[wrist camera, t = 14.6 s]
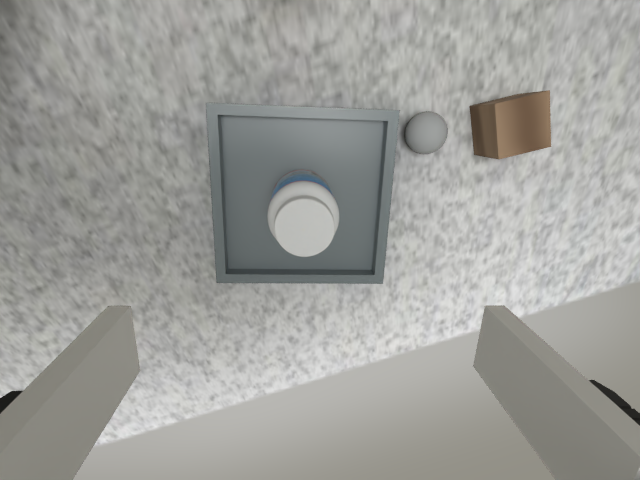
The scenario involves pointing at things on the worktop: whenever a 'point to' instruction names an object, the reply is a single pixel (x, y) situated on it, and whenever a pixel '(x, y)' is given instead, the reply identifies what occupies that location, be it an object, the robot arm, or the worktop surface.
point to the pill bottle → (303, 213)
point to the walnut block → (511, 125)
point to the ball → (426, 132)
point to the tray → (294, 154)
